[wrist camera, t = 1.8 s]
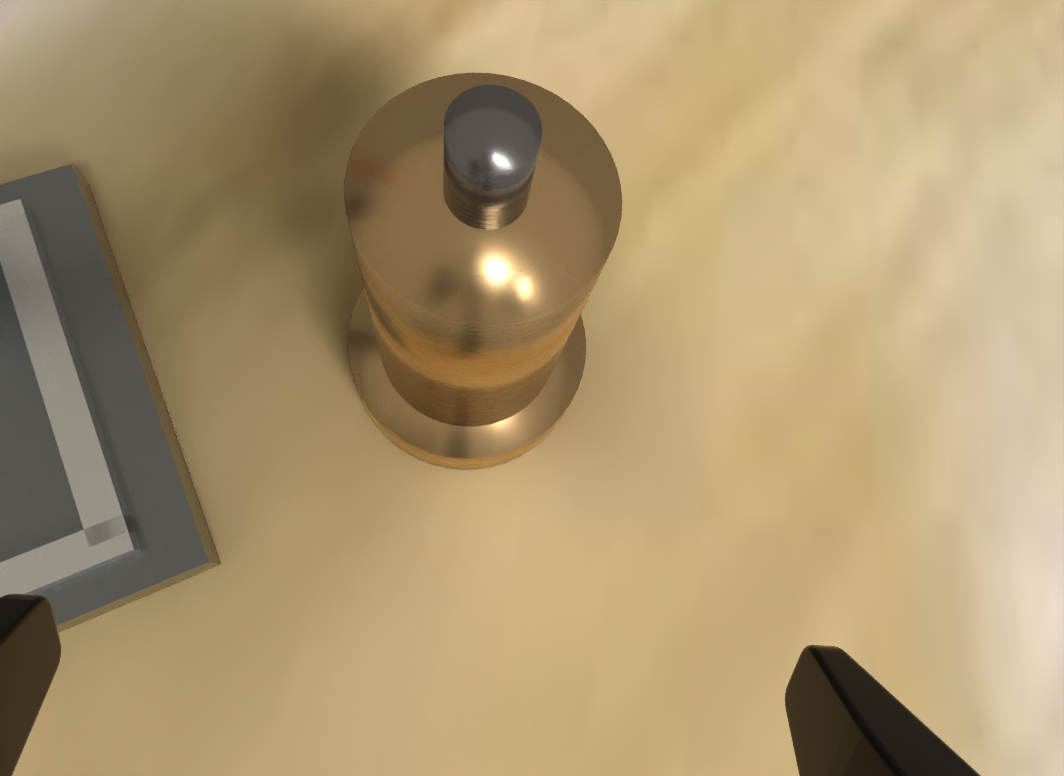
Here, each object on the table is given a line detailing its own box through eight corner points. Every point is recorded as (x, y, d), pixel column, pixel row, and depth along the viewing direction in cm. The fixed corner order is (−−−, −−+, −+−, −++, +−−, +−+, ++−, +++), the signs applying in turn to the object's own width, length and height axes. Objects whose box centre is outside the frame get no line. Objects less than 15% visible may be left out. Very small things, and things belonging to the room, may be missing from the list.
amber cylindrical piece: (612, 331, 25) (770, 85, 13) (503, 512, 23) (572, 417, 11) (433, 223, 25) (428, -113, 13) (310, 393, 23) (173, 175, 11)
